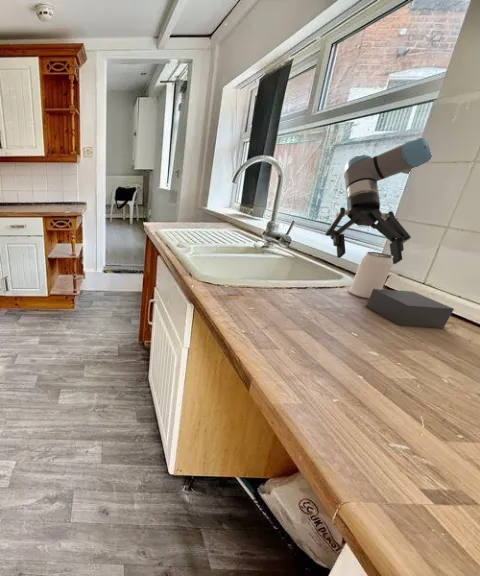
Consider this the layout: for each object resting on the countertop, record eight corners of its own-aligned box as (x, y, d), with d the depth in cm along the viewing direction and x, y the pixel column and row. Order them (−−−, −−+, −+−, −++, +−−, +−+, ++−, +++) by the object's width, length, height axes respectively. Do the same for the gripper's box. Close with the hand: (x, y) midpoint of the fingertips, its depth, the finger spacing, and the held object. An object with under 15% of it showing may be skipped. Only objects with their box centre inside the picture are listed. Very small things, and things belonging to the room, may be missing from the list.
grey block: (404, 309, 79) (413, 291, 77) (443, 328, 70) (454, 308, 68) (365, 306, 79) (373, 288, 78) (398, 325, 70) (408, 305, 68)
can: (375, 294, 88) (392, 254, 84) (379, 301, 83) (398, 259, 79) (347, 288, 91) (362, 249, 87) (350, 295, 86) (366, 254, 82)
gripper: (401, 210, 95) (411, 270, 87) (311, 203, 101) (313, 259, 93) (420, 194, 88) (433, 257, 81) (323, 187, 94) (325, 246, 87)
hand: (368, 258), depth 87 cm, fingers open, 13 cm apart
